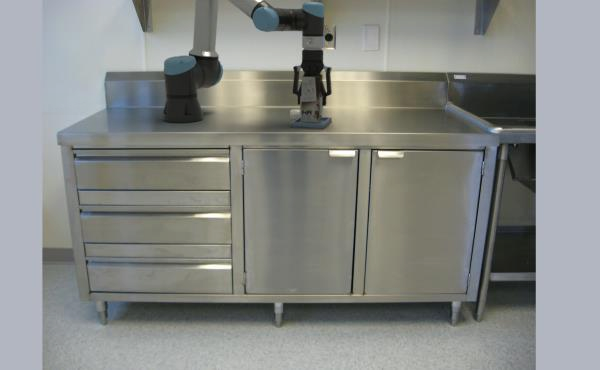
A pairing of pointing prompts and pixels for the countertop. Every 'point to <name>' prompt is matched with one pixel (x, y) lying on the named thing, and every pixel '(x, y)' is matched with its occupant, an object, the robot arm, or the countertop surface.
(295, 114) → the white small block
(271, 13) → the robot arm
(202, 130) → the countertop surface
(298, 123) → the tray
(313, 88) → the coffee box
